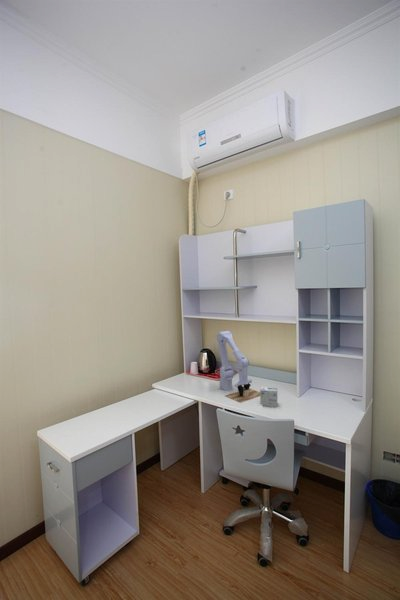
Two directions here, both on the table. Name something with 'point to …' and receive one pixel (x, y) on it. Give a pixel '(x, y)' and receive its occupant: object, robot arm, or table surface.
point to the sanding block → (244, 393)
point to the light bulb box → (268, 396)
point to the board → (241, 399)
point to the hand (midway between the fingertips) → (243, 394)
